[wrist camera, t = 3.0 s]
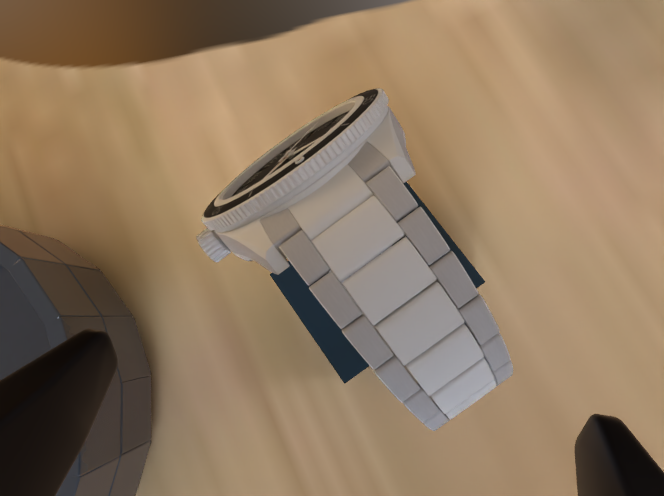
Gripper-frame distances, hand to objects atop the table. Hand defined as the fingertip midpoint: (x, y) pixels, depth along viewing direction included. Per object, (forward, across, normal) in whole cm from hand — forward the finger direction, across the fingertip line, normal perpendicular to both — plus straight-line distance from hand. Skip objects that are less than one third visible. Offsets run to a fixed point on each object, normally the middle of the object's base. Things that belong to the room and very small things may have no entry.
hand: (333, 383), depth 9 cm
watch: (+9, 0, +5) cm, 10 cm away
